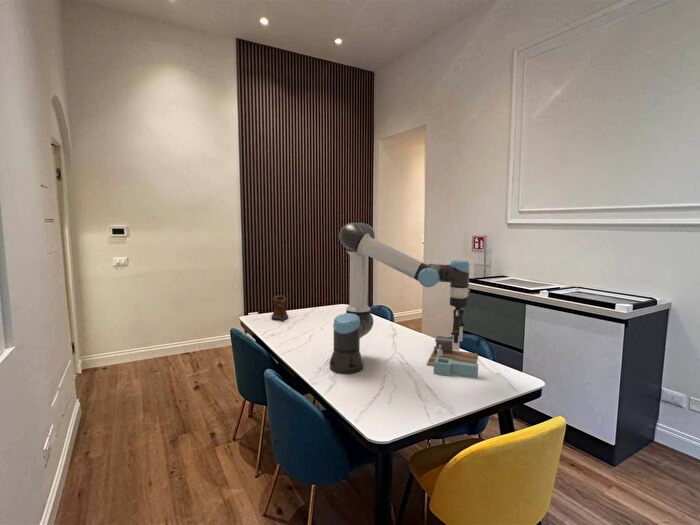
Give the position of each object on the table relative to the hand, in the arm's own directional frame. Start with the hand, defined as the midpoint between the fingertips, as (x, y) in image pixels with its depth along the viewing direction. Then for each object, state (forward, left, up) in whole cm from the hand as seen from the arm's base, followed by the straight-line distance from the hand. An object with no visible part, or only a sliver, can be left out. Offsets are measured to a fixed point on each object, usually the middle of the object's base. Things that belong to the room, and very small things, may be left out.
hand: (457, 345), depth 164 cm
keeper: (+24, +9, -12) cm, 28 cm away
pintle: (+10, +9, -13) cm, 18 cm away
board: (+17, +3, -13) cm, 21 cm away
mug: (+48, +118, -13) cm, 128 cm away
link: (0, 0, -13) cm, 13 cm away
